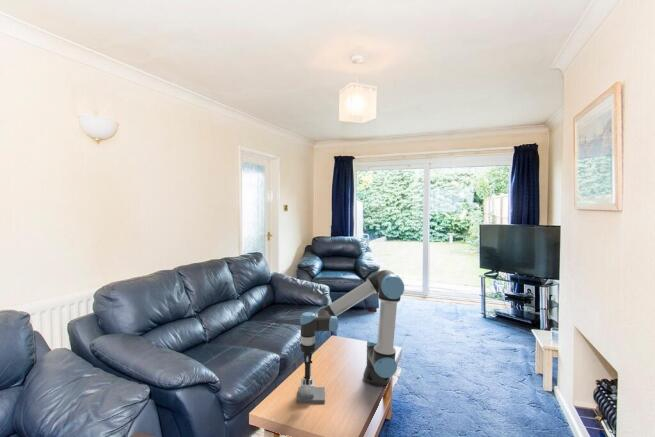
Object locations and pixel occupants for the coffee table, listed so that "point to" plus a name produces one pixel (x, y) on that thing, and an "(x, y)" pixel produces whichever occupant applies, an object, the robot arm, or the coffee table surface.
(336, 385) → the coffee table surface
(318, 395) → the keeper plate
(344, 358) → the coffee table surface
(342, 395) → the coffee table surface
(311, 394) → the steel collar
